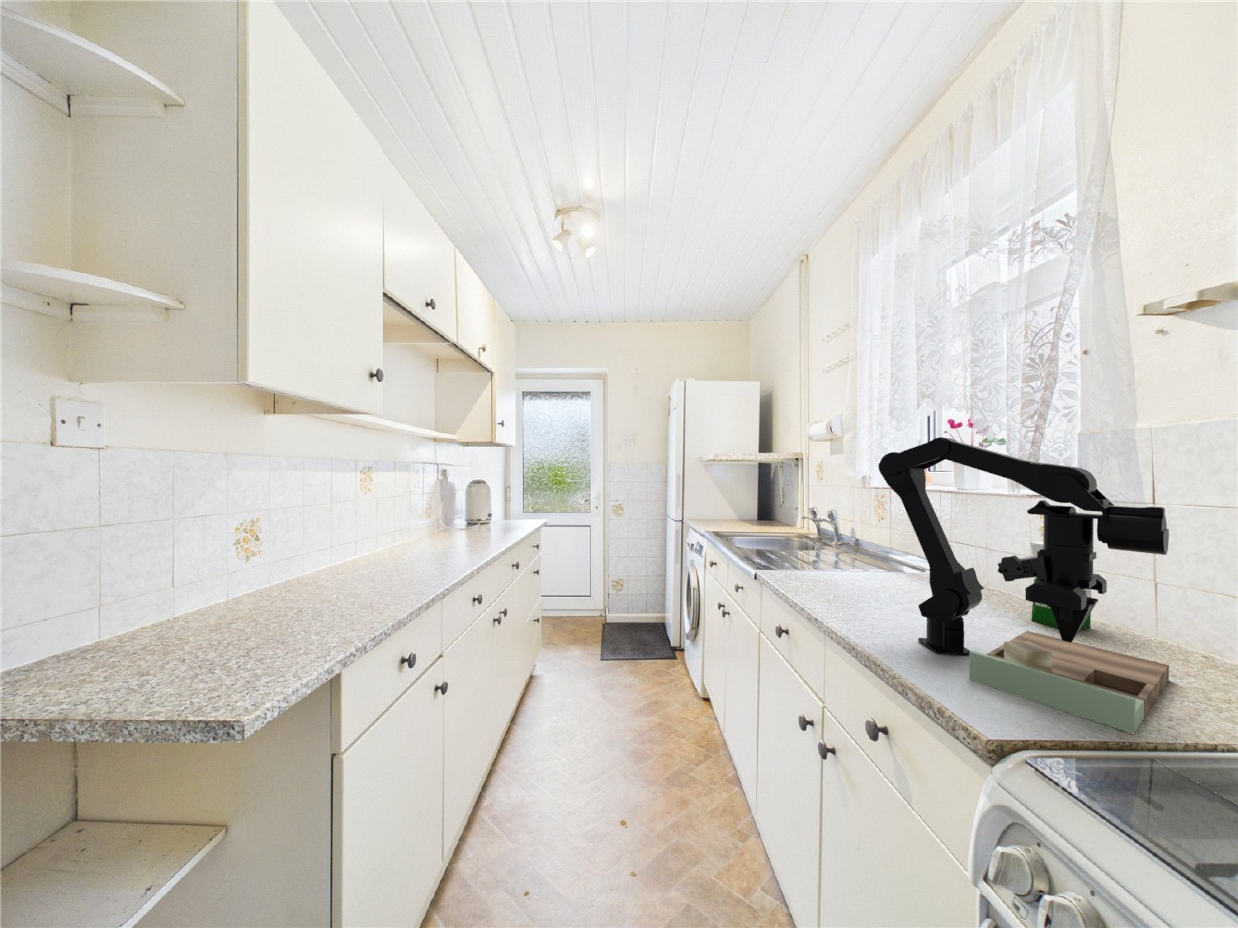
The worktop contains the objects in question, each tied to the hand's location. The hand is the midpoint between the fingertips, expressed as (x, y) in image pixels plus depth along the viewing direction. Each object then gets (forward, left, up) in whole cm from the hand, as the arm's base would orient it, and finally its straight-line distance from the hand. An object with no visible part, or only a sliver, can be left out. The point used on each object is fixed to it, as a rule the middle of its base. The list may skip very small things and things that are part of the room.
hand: (1067, 641), depth 73 cm
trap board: (-4, +4, -7) cm, 9 cm away
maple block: (+2, -7, -4) cm, 9 cm away
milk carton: (-31, +23, -7) cm, 39 cm away
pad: (+5, -6, -7) cm, 10 cm away
